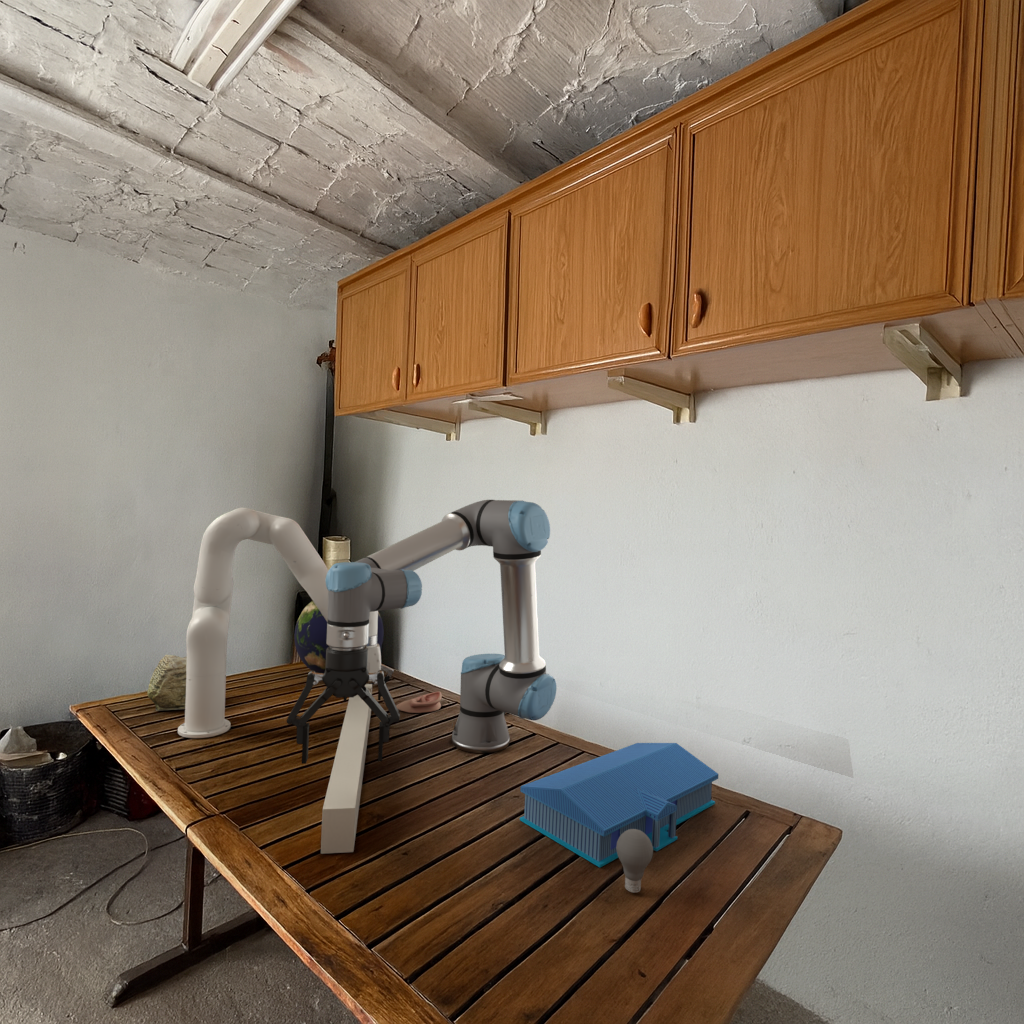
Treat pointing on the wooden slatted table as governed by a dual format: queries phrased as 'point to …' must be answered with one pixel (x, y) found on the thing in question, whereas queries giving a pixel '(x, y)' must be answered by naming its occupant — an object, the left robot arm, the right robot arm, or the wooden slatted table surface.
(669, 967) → the wooden slatted table surface
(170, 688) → the fossil
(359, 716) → the post
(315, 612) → the globe
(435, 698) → the anatomical model
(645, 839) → the light bulb
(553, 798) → the model building
